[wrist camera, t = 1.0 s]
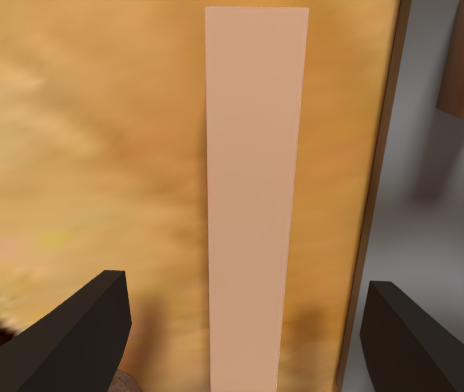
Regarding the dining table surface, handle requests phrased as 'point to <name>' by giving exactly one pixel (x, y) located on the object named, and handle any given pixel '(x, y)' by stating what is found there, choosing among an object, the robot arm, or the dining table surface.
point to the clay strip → (250, 184)
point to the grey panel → (416, 180)
